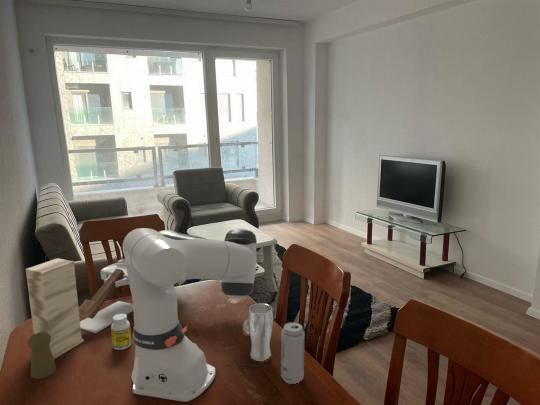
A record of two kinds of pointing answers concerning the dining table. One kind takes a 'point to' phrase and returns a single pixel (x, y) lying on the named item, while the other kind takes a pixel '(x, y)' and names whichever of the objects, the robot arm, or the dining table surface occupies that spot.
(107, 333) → the dining table surface
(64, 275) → the stand
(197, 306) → the dining table surface
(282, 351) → the energy drink can
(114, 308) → the mat
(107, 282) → the mallet
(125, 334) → the supplement bottle
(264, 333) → the beer glass
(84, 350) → the dining table surface
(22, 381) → the dining table surface
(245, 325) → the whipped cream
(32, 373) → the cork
